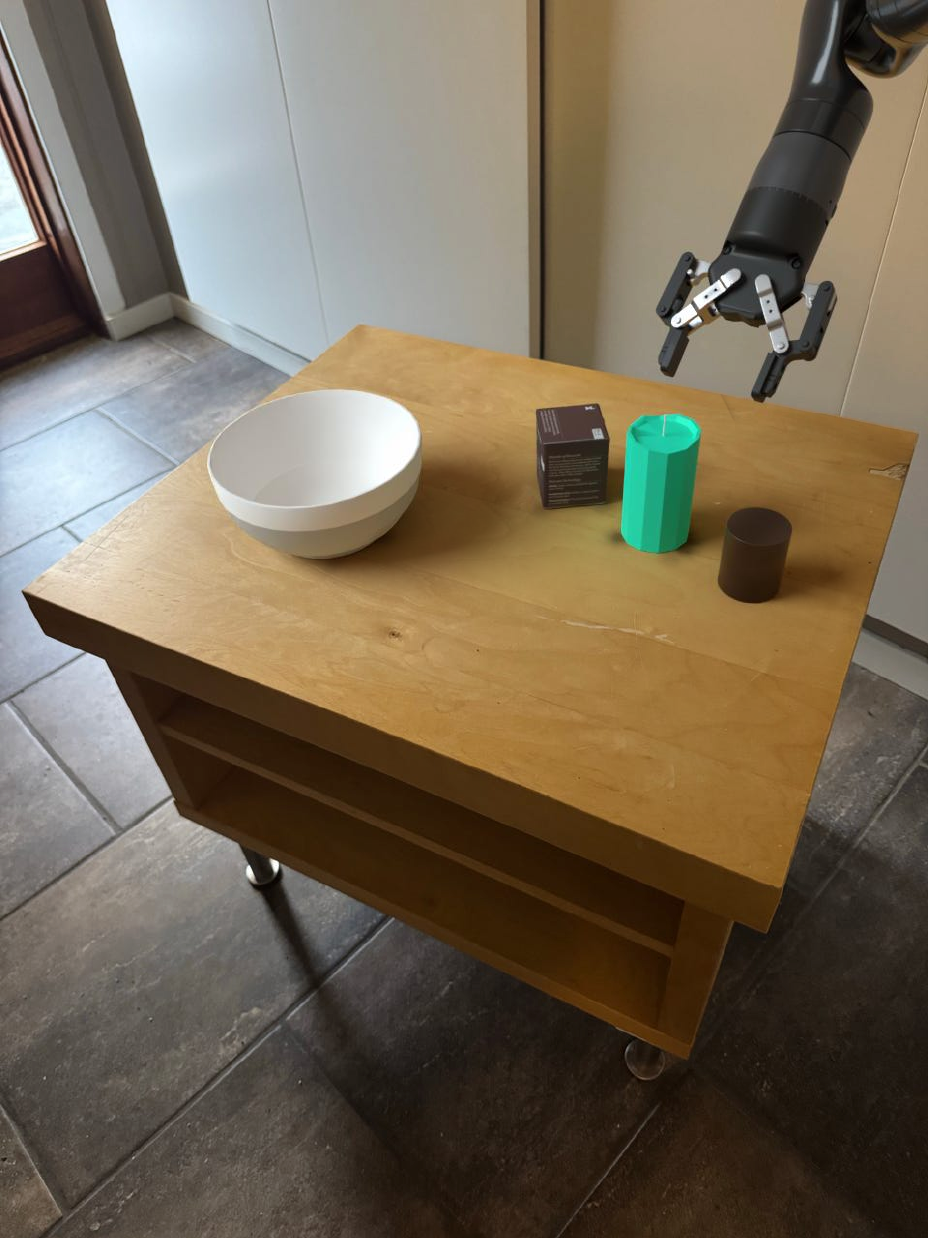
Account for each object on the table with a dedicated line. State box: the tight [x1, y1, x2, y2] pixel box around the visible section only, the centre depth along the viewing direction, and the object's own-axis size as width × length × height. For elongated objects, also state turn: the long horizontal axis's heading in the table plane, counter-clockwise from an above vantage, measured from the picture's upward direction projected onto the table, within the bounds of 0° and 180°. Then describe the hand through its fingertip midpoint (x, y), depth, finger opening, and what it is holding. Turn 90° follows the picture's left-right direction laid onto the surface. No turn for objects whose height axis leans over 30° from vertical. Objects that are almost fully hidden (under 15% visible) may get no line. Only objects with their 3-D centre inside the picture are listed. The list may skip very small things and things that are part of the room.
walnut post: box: [717, 506, 793, 604], centre depth 76 cm, size 5×5×6 cm
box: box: [535, 402, 611, 510], centre depth 86 cm, size 6×6×7 cm
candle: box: [620, 413, 702, 554], centre depth 79 cm, size 6×6×12 cm
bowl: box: [206, 388, 423, 560], centre depth 85 cm, size 19×19×9 cm
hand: (710, 386), depth 81 cm, fingers open, 8 cm apart
